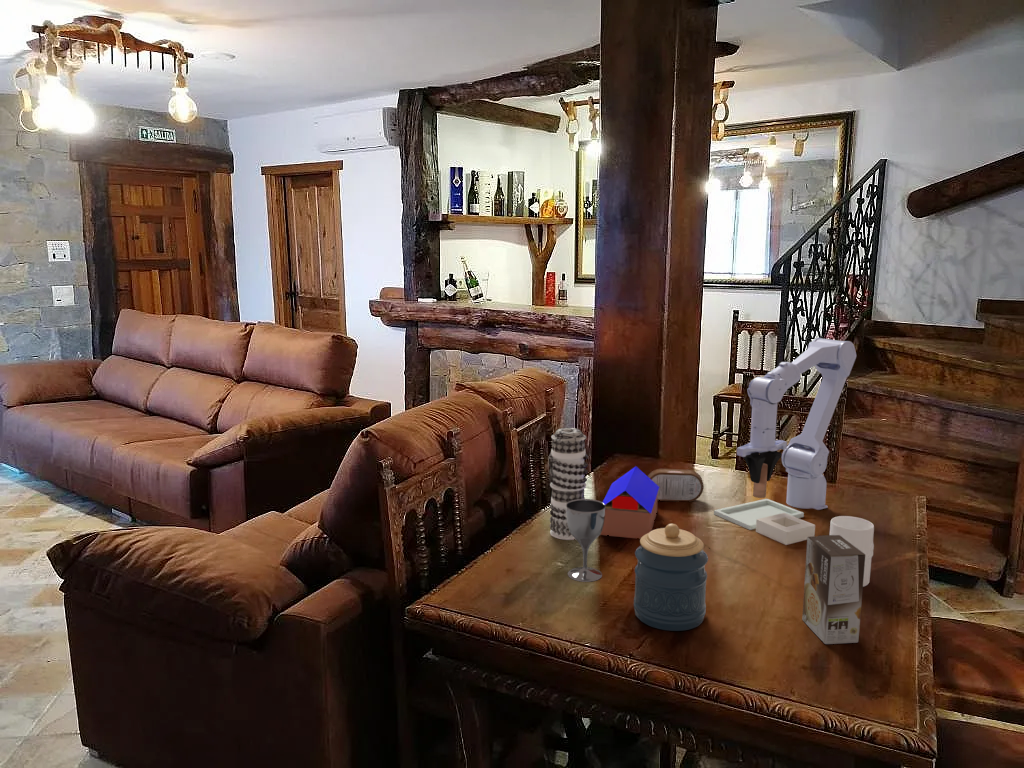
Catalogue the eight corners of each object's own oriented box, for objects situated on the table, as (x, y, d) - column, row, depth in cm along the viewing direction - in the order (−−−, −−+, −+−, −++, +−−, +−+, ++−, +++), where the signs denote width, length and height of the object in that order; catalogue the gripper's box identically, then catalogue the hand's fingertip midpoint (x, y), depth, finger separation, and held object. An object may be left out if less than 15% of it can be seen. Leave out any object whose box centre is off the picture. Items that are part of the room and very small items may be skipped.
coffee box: (860, 643, 130) (868, 554, 127) (824, 645, 129) (831, 556, 126) (833, 617, 139) (840, 534, 136) (799, 619, 138) (805, 535, 135)
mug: (861, 564, 161) (866, 511, 159) (874, 589, 150) (879, 531, 147) (820, 561, 163) (824, 508, 161) (830, 585, 151) (834, 528, 149)
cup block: (783, 528, 181) (784, 512, 181) (814, 541, 174) (815, 524, 173) (755, 535, 177) (756, 519, 177) (785, 549, 169) (786, 532, 169)
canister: (719, 626, 136) (723, 533, 132) (653, 637, 132) (656, 541, 129) (683, 594, 148) (686, 508, 145) (621, 604, 144) (623, 515, 141)
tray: (766, 505, 197) (766, 498, 197) (803, 520, 187) (804, 512, 186) (713, 517, 189) (713, 510, 188) (749, 533, 178) (749, 525, 178)
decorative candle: (565, 522, 186) (566, 423, 181) (595, 532, 179) (596, 430, 175) (540, 533, 180) (540, 430, 175) (569, 543, 173) (570, 437, 169)
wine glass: (607, 569, 160) (609, 501, 157) (599, 585, 152) (600, 513, 149) (571, 564, 162) (571, 497, 159) (561, 579, 155) (561, 509, 152)
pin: (759, 493, 189) (761, 462, 187) (768, 496, 186) (770, 465, 185) (750, 495, 187) (752, 463, 186) (759, 498, 185) (761, 467, 183)
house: (658, 511, 194) (659, 467, 192) (650, 541, 175) (651, 492, 173) (611, 507, 197) (612, 464, 195) (598, 536, 178) (599, 488, 176)
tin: (702, 499, 203) (703, 469, 201) (703, 503, 200) (705, 472, 198) (644, 497, 204) (645, 467, 203) (645, 501, 201) (646, 471, 199)
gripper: (753, 434, 177) (750, 490, 179) (798, 426, 183) (794, 480, 186) (731, 427, 183) (729, 481, 185) (775, 420, 189) (772, 473, 192)
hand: (760, 480), depth 186 cm, fingers closed on pin, 3 cm apart
